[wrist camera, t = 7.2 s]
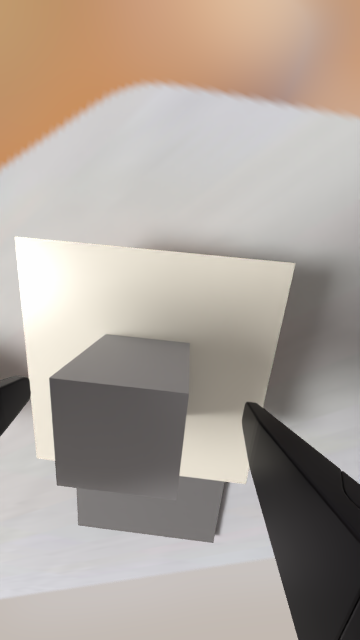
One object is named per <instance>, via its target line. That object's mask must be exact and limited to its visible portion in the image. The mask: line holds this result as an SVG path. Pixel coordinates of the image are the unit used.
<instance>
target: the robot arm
mask: <svg viewBox="0 0 360 640" xmlns="http://www.w3.org/2000/svg"><path fill="white" fill-rule="evenodd" d="M30 396H31V390H30V380H29V378H28V377H25V376H14V377H10V378H7V379H3V380H0V436H1V435H2V434H3V433H4V431H5V430H6V429H7V428H8V426H9V425H10V424H11V422H12V421H13V420H14V419H15V417H16V416H17V415H18V414H19V412H20V411H21V410H22V408H23V407H24V406H25V405H26V403H27V402H28V401H29V399H30ZM242 428H243V434H244V440H245V445H246V451H247V457H248V462H249V466H250V470H251V474H252V478H253V481H254V485H255V488H256V492H257V495H258V499H259V502H260V506H261V509H262V513H263V516H264V520H265V524H266V527H267V531H268V534H269V538H270V541H271V545H272V548H273V552H274V555H275V559H276V562H277V566H278V569H279V573H280V577H281V580H282V583H283V587H284V590H285V594H286V598H287V601H288V605H289V608H290V611H291V615H292V619H293V622H294V626H295V630H296V633H297V637H298V640H360V484H359V483H357V482H356V481H355V480H354V479H352V478H351V477H350V476H348V475H347V474H346V473H345V472H343V471H341V470H340V468H338V467H337V466H336V465H334V464H333V463H332V462H331V461H329V460H328V459H327V458H326V457H324V456H323V455H322V454H321V453H319V452H318V451H317V450H316V449H314V448H313V447H312V446H310V445H309V444H308V443H307V442H305V441H304V440H303V439H302V438H300V437H299V436H298V435H297V434H295V433H294V432H293V431H292V430H290V429H289V428H288V427H286V426H285V425H284V424H283V423H281V422H280V421H279V420H278V419H276V418H275V417H274V416H273V415H271V414H270V413H269V412H267V411H266V410H265V409H264V408H262V407H261V406H260V405H259V404H257V403H255V402H246V403H245V406H244V411H243V416H242Z"/></svg>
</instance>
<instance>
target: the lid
mask: <svg viewBox="0 0 360 640" xmlns="http://www.w3.org/2000/svg"><path fill="white" fill-rule="evenodd" d="M15 246H16V256H17V266H18V276H19V286H20V296H21V306H22V316H23V326H24V336H25V346H26V356H27V365H28V375H29V380H30V390H31V405H32V415H33V425H34V435H35V445H36V455H37V458H38V459H46V460H54V461H55V466H56V480H57V485H59V486H66V487H74V488H82V489H90V490H98V491H106V492H114V493H122V494H130V495H138V496H146V497H154V498H162V499H170V500H176V499H177V491H178V482H179V476H184V477H192V478H200V479H208V480H217V481H225V482H233V483H241V484H246V480H247V476H248V471H249V467H250V466H249V462H248V457H247V451H246V445H245V440H244V434H243V428H242V416H243V411H244V406H245V403H246V402H255V403H257V404H259V405H260V406H261V407H262V408H263V405H264V401H265V396H266V392H267V387H268V383H269V378H270V374H271V370H272V365H273V361H274V356H275V352H276V347H277V343H278V339H279V334H280V330H281V325H282V321H283V316H284V312H285V308H286V303H287V299H288V294H289V290H290V285H291V281H292V277H293V272H294V268H295V263H289V262H278V261H268V260H257V259H247V258H236V257H225V256H215V255H204V254H194V253H183V252H173V251H162V250H152V249H141V248H131V247H120V246H110V245H99V244H88V243H78V242H67V241H57V240H46V239H36V238H25V237H15Z"/></svg>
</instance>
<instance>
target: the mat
mask: <svg viewBox="0 0 360 640" xmlns="http://www.w3.org/2000/svg"><path fill="white" fill-rule="evenodd" d="M224 483H225V481H217V480H208V479H200V478H192V477H184V476H179V482H178V491H177V499H176V500H170V499H162V498H154V497H146V496H138V495H130V494H122V493H114V492H106V491H98V490H90V489H82V488H77V506H78V525H80V526H88V527H96V528H103V529H111V530H119V531H126V532H134V533H142V534H149V535H157V536H165V537H172V538H180V539H188V540H196V541H203V542H211V543H213V541H214V536H215V530H216V525H217V520H218V515H219V509H220V504H221V499H222V494H223V488H224Z"/></svg>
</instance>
